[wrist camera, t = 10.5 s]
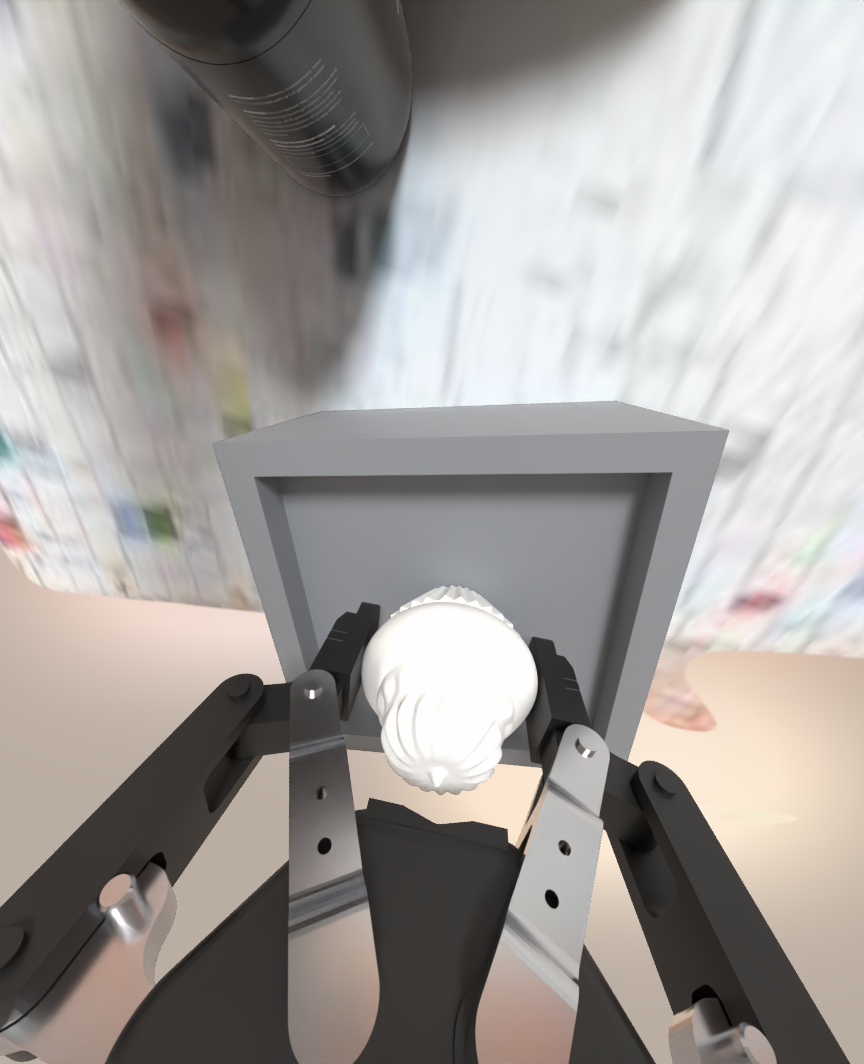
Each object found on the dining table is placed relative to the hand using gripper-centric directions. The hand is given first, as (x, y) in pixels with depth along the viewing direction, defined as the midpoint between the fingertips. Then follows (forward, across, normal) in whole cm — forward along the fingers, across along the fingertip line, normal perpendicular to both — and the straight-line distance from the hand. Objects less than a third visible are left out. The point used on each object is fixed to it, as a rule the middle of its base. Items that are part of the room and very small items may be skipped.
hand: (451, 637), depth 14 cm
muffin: (+2, 0, 0) cm, 2 cm away
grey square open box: (+10, 0, 0) cm, 10 cm away
